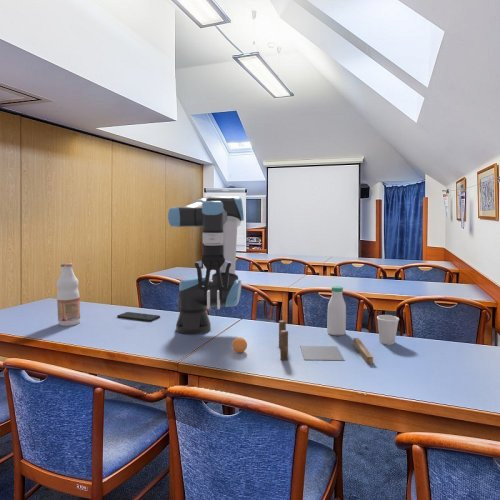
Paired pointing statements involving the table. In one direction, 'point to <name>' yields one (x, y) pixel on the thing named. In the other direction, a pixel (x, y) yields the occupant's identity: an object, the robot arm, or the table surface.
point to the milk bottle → (336, 313)
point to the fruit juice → (68, 297)
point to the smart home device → (138, 316)
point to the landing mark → (321, 353)
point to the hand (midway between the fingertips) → (213, 308)
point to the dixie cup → (387, 328)
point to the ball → (239, 345)
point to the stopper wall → (363, 351)
